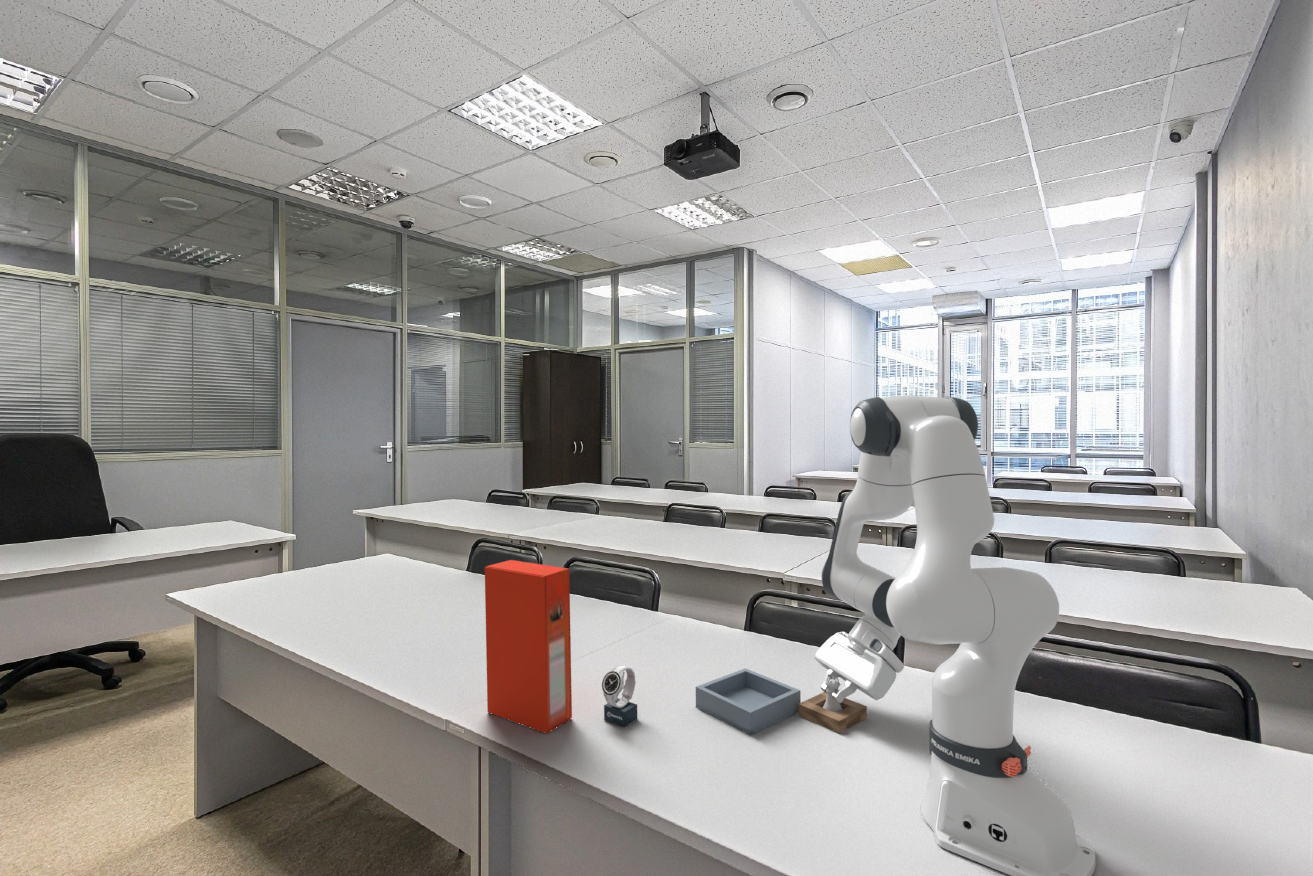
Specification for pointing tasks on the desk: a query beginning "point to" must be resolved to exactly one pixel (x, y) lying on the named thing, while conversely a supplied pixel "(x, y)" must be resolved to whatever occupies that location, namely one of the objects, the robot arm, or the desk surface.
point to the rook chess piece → (830, 701)
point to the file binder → (528, 643)
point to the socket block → (832, 713)
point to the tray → (748, 700)
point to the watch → (612, 686)
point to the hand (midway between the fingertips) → (829, 695)
